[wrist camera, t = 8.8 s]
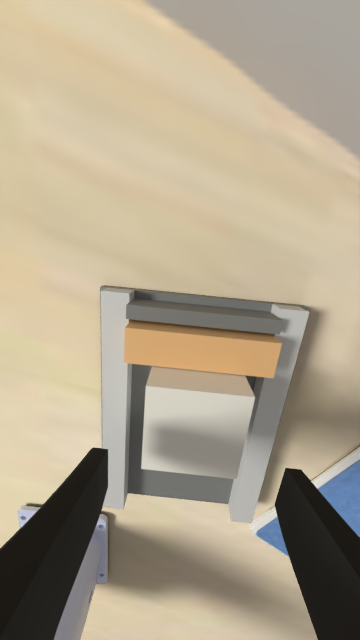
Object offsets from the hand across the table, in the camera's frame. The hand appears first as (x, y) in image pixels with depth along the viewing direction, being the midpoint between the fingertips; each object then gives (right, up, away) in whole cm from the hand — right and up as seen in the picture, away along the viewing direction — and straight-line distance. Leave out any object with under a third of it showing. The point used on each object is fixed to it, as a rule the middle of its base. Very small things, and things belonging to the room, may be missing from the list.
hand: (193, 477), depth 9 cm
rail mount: (0, 0, +7) cm, 7 cm away
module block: (0, +2, +6) cm, 6 cm away
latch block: (+1, +6, +6) cm, 8 cm away
